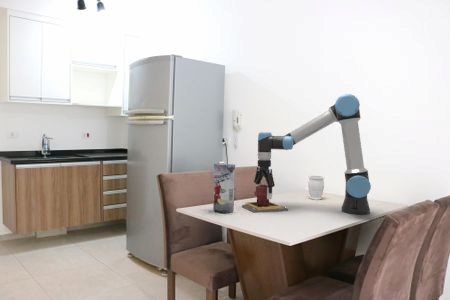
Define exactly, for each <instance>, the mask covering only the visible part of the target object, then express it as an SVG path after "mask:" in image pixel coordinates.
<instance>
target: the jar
mask: <svg viewBox="0 0 450 300" xmlns="http://www.w3.org/2000/svg"><path fill="white" fill-rule="evenodd" d="M324 179H325V177H324V176H321V175H309V176H308V183H307V188H308V194H309V199H310V200H314V201H315V200H316V201H317V200H320V199H321V200H322V199H323V197H322V196H323V194H324V189H325V182H324V181H325V180H324Z"/></svg>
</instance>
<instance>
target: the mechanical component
mask: <svg viewBox="0 0 450 300" xmlns="http://www.w3.org/2000/svg"><path fill="white" fill-rule="evenodd" d="M267 186H268V185H267V184H261V185H260V186H256V185H255V191H254V194H253V195H254V196H256V202H257V204H258V206H260V207H266V206H268V205H269V202H270V199H267Z"/></svg>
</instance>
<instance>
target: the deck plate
mask: <svg viewBox="0 0 450 300" xmlns="http://www.w3.org/2000/svg"><path fill="white" fill-rule="evenodd" d="M241 208H243V209H245V210H247V211H250V212H251V213H272V212H288V211H289V209H288V207H286V206H282V205H280V204H277V203H276V202H272V201H269V205H268V206H266V207H260V206H258V204H257V201H247V202H245V203H244V204H241Z"/></svg>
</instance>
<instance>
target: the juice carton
mask: <svg viewBox="0 0 450 300" xmlns="http://www.w3.org/2000/svg"><path fill="white" fill-rule="evenodd" d="M213 169H214V170H213V202H212V203H213V205H212V206H213V209H212V210H213V211H214V212H216V213H221V214H229V213H234V210H235V209H234V208H235V174H236V173H235V172H236V164H231V163H230V164H228V163H226V162H225V161H219V162H218V163H214V164H213Z"/></svg>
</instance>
